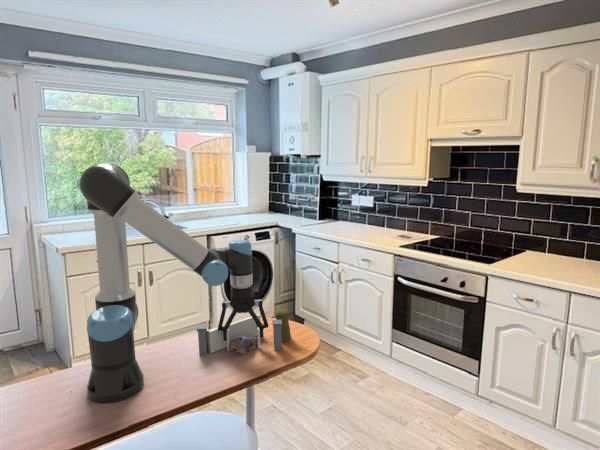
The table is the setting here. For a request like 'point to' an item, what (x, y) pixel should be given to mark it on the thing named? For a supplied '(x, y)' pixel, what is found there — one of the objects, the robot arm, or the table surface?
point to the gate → (231, 333)
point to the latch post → (277, 334)
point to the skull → (243, 344)
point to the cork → (284, 324)
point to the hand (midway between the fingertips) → (243, 347)
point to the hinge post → (202, 339)
